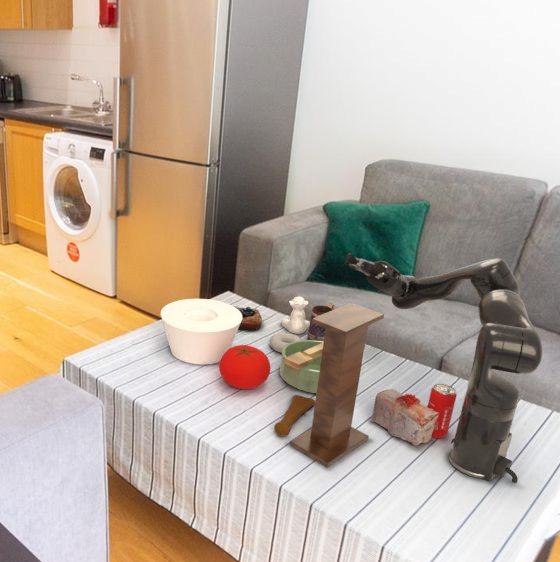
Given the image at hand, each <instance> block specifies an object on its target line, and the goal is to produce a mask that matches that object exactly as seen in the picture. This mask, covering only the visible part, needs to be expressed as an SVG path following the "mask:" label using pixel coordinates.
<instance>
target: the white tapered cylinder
mask: <svg viewBox="0 0 560 562" xmlns="http://www.w3.org/2000/svg"><path fill="white" fill-rule="evenodd" d="M233 306H234V305H232V304H229V303H227V302H223V301H221V300H220V301H219V300H216V299H208V298H185V299H179V300H175V301H172V302H169V303H168V304H166V305H164V306H163V307H162V309H161V310H160V317H161V320H162V325H163V327H164V331H165V334H166V338H167V341H168V345H169V348H170V351H171V354H172V355H173V356H174V358H176V359H178V360H180V361H182V362H185V363H188V364H192V365H193V364H194V365H212V364H217V363H220V360H221V358H222V356H223V354H224V353H225V352H226V351H227V350H228V349H230V348H231V347H232V346H233V342H234V341H235V338H236V335H237V334H238V331H239V330H238V328H239V326H240V323H241V321H242V314H241V312H240V311H239V310H238V309H237V308H235V307H236V306H235V307H233Z"/></svg>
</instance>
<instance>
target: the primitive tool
mask: <svg viewBox="0 0 560 562" xmlns="http://www.w3.org/2000/svg"><path fill="white" fill-rule="evenodd" d="M315 401H316V400H314V398H311V397H304V396H301V395H297V394H295V395H293V398H292V401H291V404H290V405H289V407H288V408H287V410H286V411H285V414H284V415H283V418H282V419H281V420H280V421H277V422H276V423H275V424H274V427H273V429H274V432H275V433H276V434H277V435H278V436H280V437H286V436H288V435H289V433H290V428H291V426H292V425H293V424H294V423H296V421H297V420H298V419H299V418H300V416H302V415H304V414H305V413H306V411H307V410H309V409H311V407H313V406H315Z"/></svg>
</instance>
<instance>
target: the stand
mask: <svg viewBox="0 0 560 562" xmlns="http://www.w3.org/2000/svg"><path fill="white" fill-rule="evenodd" d="M384 317H385V314H384V313H382V312H379V311H376V310H373V309H370V308H367V307H365V306H361V305H359V304H357V303H353V302H349V303H346V304H344V305H341V306H339V307H336V308H335V309H334V310H332V311H330V312H327V313H325V314H322V315H320V316H318V317H315V318H313V319H312V323H314V324H316V325H319V326H321V327H324V328H326V329H325V336H324V343H323V351H322V358H321V365H320V372H319V379H318V386H317V393H315V394H316V396H315V400H314V401H315V404H314V407H313V418H312V422H311V423H312V424H311V428H309V429H308V430H306V431H305V432H303V433H301V434H300V435H298V436H296V437H294V438H293V439H291V440H290V441H289V446H291V447H292V448H294V449H295V450H297V451H299V452H301V453H302V454H303V455H305V456H307V457H309V458H311V459H312V460H314V461H315V462H317V463H319V464H320V465H322V466H324V467H326V468H328V467H330V466H332V465H333V464H334V463H336V462H338V461H339V460H341V459H343V458H344V457H345V456H347V455H348V454H350V453H351V452H353V451H354V450H355V449H357V448H358V447H361V446H362V445H363V444H364V443H366V442H368V441H369V438H370V435H368V434H366V433H364V432H362V431H360V430H358V429H357V428H355V427H352V425H353V424H352V423H353V418H354V417H353V416H354V414H355V413H354V411H355V407H356V400H357V394H358V388H359V382H360V377H361V370H362V365H363V359H364V353H365V347H366V342H367V341H366V340H367V335H368V329H369V326H370V325H372V324H374V323H377V322H379V321H381V320H383V319H384Z"/></svg>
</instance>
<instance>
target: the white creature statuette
mask: <svg viewBox="0 0 560 562" xmlns="http://www.w3.org/2000/svg"><path fill="white" fill-rule="evenodd" d="M289 305H290V306H291V309H292V311H291V312H290V317H289V319H288V318H282V319H281V320H280V324H281V327H283V328H285V330H287V331H289V332H290V334H293V335H302V334H304V333H305V332H306V330H308V329H309V326H310V320H308V319H307V316H306V313H305V310H304V309H306V306H308V305H309V301H308V300H306V299H305V298H304V297H303V296H295V297H294V298H293V299H291V300H289Z"/></svg>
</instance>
